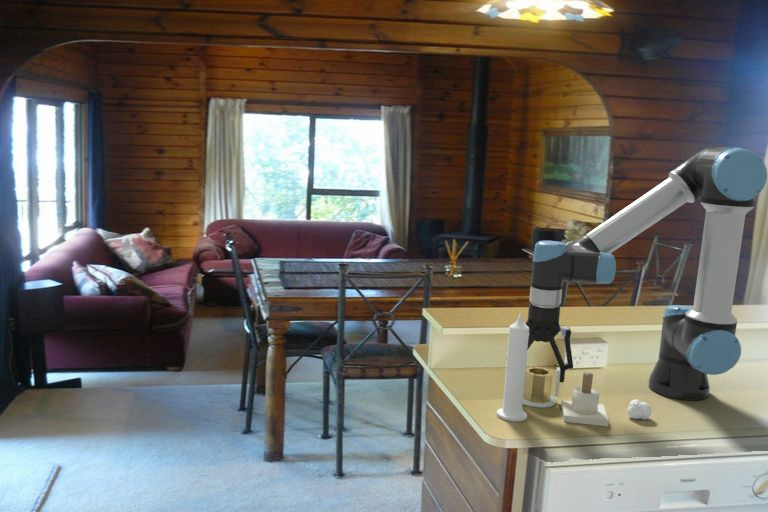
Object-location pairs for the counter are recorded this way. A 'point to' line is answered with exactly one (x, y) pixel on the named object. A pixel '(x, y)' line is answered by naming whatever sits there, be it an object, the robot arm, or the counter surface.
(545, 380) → the brass hex nut
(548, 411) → the counter surface
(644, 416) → the microfossil shell
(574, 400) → the stand
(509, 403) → the candle
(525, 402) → the coaster
